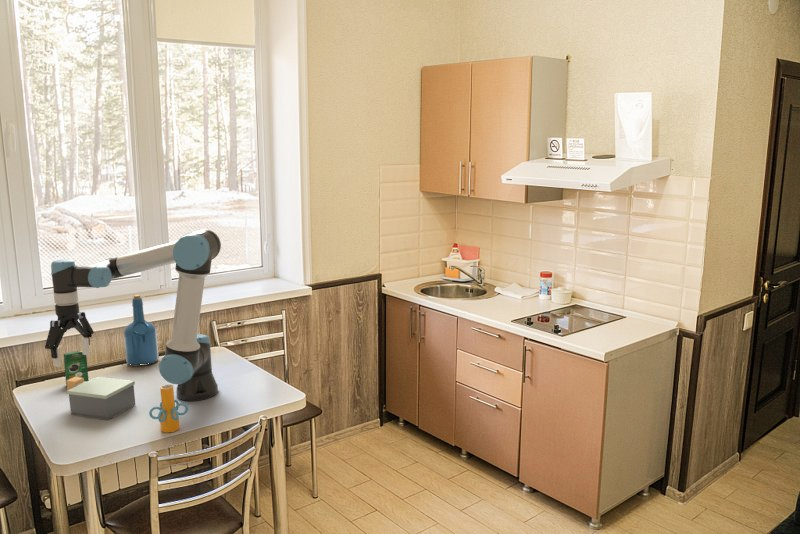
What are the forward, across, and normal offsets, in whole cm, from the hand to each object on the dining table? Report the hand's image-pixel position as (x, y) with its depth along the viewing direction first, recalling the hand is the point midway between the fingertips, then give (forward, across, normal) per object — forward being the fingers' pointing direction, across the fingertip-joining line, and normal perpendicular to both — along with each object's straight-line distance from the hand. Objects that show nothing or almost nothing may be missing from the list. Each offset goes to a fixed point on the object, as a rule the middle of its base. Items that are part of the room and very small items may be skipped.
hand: (72, 360), depth 240 cm
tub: (+18, 0, +12) cm, 21 cm away
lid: (+11, 0, +9) cm, 14 cm away
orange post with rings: (+17, +7, +45) cm, 49 cm away
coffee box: (+18, -19, -18) cm, 32 cm away
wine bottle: (+18, -48, -10) cm, 52 cm away
